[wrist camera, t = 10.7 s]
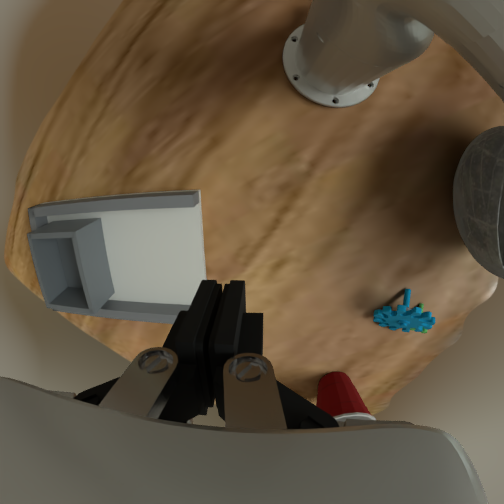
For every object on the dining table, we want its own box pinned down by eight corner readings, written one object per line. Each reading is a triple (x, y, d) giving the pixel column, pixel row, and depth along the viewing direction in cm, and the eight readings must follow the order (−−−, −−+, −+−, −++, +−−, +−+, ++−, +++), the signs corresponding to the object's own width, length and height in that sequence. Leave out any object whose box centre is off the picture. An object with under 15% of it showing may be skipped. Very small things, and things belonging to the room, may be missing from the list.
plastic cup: (297, 399, 49) (301, 450, 38) (313, 359, 46) (322, 414, 34) (349, 401, 50) (361, 449, 38) (370, 363, 46) (389, 413, 34)
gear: (358, 319, 41) (412, 310, 32) (365, 283, 43) (416, 269, 34) (399, 339, 44) (447, 334, 35) (404, 307, 46) (450, 298, 37)
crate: (51, 221, 38) (25, 234, 32) (100, 217, 37) (75, 231, 31) (66, 288, 42) (45, 307, 36) (114, 292, 42) (94, 314, 35)
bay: (42, 202, 38) (27, 208, 34) (200, 189, 37) (192, 194, 33) (64, 299, 44) (52, 310, 41) (209, 310, 43) (204, 325, 39)
